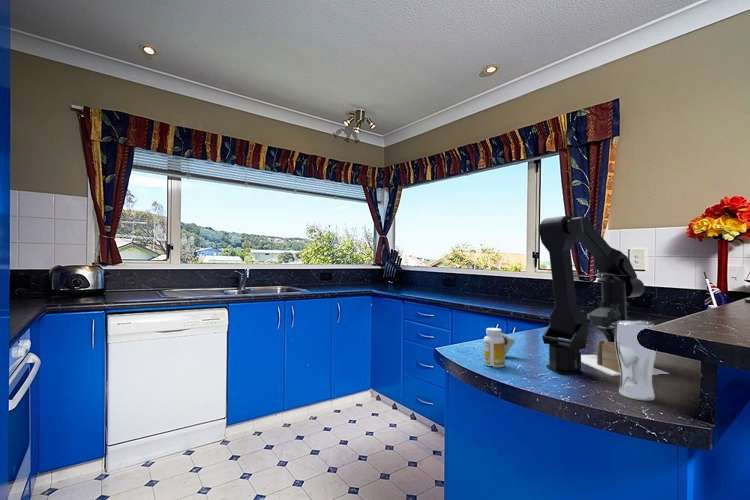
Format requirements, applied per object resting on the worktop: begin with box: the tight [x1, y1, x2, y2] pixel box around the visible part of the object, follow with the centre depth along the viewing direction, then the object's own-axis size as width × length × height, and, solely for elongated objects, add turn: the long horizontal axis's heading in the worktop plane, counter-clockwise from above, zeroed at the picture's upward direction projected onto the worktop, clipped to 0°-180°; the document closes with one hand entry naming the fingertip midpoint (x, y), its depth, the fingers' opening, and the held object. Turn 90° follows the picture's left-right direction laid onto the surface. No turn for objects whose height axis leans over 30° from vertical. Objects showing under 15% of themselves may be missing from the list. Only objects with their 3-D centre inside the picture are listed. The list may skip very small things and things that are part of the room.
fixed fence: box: [596, 340, 620, 373], centre depth 89 cm, size 2×11×7 cm, turn 3°
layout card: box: [581, 354, 670, 377], centre depth 95 cm, size 14×18×1 cm
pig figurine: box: [501, 332, 516, 356], centre depth 105 cm, size 8×4×7 cm, turn 82°
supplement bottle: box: [483, 327, 506, 368], centre depth 96 cm, size 5×5×10 cm
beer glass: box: [614, 320, 657, 402], centre depth 74 cm, size 7×7×15 cm
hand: (615, 353), depth 100 cm, fingers closed
